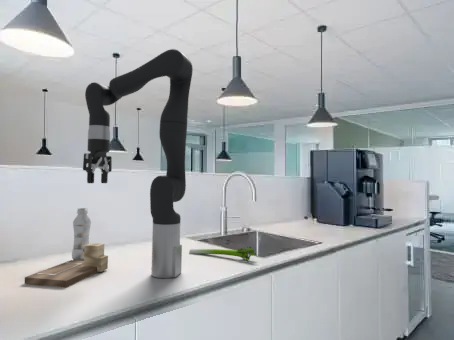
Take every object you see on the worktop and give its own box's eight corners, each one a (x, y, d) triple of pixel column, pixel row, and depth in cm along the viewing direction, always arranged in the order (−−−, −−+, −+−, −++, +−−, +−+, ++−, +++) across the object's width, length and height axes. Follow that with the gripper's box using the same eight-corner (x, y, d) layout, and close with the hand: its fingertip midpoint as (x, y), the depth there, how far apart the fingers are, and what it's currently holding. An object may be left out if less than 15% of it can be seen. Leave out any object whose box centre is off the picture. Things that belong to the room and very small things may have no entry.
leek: (195, 256, 142) (258, 259, 129) (187, 261, 136) (252, 265, 123) (194, 242, 142) (257, 244, 129) (185, 247, 136) (250, 249, 122)
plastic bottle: (69, 263, 118) (71, 209, 119) (73, 258, 125) (75, 208, 126) (88, 262, 120) (90, 209, 121) (91, 258, 127) (92, 207, 127)
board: (106, 268, 113) (106, 262, 113) (66, 287, 92) (66, 280, 92) (71, 265, 116) (71, 259, 116) (24, 283, 95) (24, 276, 95)
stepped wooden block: (107, 268, 111) (108, 244, 111) (101, 271, 107) (101, 246, 107) (87, 267, 112) (88, 242, 112) (80, 270, 108) (81, 245, 108)
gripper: (97, 136, 109) (95, 183, 108) (118, 141, 123) (117, 183, 122) (77, 136, 110) (75, 183, 110) (100, 141, 124) (99, 183, 124)
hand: (97, 183), depth 116 cm, fingers open, 8 cm apart
